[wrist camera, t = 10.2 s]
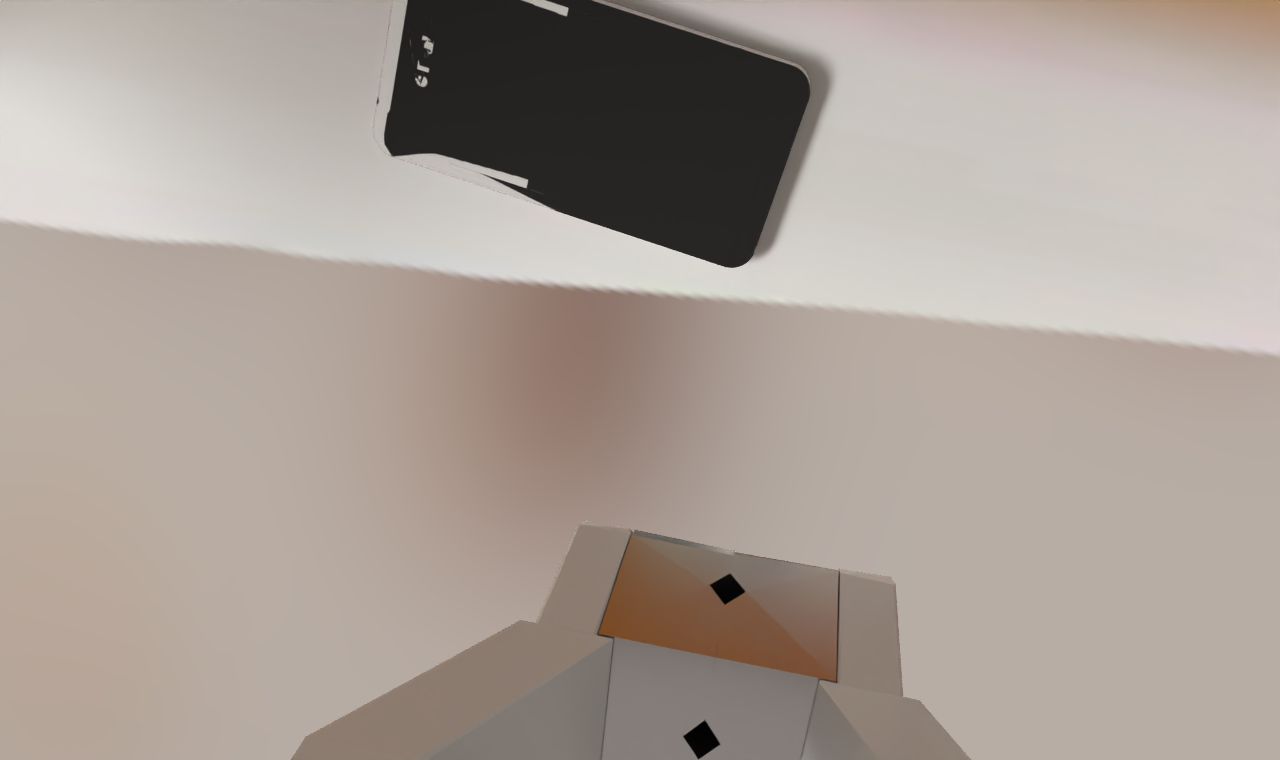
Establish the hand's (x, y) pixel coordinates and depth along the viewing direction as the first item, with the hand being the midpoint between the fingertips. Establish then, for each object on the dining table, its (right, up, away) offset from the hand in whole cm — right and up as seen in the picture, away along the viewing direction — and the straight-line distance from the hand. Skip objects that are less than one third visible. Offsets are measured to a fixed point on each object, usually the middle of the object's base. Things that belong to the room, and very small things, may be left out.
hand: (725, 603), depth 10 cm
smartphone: (-3, +12, +28) cm, 31 cm away
